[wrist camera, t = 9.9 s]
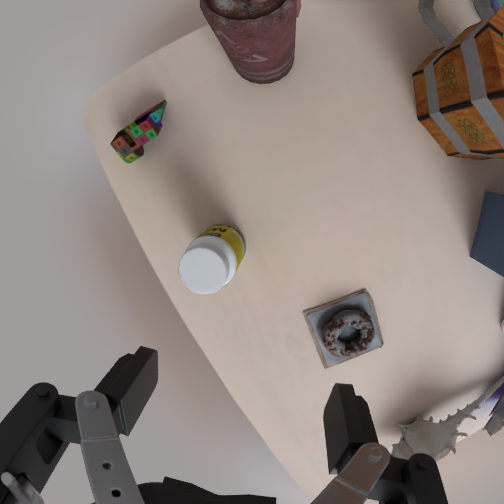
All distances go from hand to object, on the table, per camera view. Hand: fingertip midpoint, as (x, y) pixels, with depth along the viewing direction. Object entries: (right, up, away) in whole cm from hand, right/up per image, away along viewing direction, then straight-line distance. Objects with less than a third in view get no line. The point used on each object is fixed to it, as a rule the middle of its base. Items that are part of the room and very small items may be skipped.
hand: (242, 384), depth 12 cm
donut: (+11, -3, +21) cm, 24 cm away
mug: (+22, +25, +11) cm, 35 cm away
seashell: (+31, -20, +23) cm, 43 cm away
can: (+2, +25, +14) cm, 29 cm away
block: (-11, +19, +14) cm, 26 cm away
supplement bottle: (-2, +7, +19) cm, 21 cm away
